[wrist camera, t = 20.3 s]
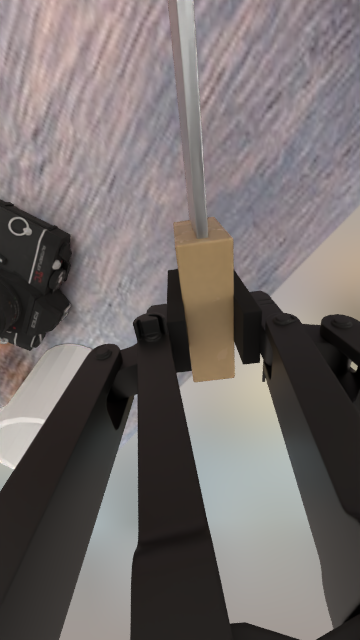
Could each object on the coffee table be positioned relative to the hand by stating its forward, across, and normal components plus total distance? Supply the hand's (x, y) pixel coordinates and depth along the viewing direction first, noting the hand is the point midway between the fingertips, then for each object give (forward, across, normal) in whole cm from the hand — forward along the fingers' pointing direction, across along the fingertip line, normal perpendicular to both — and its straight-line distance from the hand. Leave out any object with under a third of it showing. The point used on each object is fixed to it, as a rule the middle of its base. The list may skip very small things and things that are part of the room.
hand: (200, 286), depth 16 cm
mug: (+8, -17, -12) cm, 22 cm away
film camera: (+8, -16, 0) cm, 18 cm away
